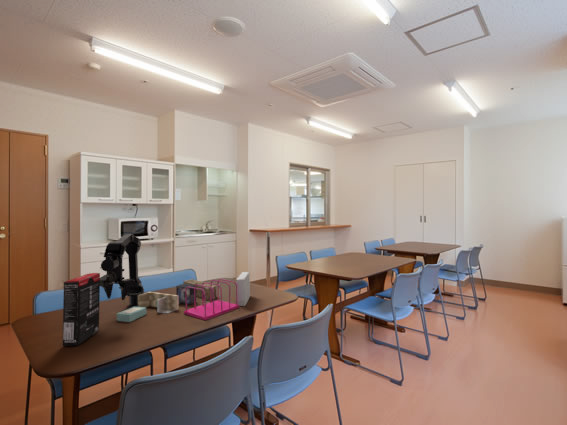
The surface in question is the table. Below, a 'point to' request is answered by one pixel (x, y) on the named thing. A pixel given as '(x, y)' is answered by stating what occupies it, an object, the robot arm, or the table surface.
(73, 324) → the graphics card box
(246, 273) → the skincare box
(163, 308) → the bookend
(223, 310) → the file sorter
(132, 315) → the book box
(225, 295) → the table surface
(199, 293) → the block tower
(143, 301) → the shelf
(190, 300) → the small box
